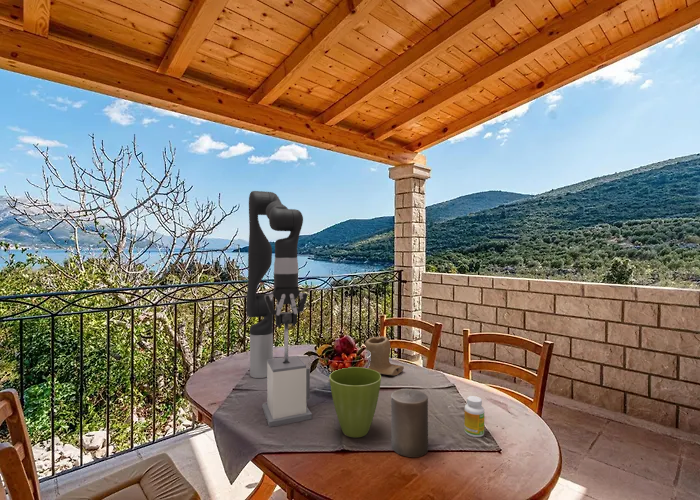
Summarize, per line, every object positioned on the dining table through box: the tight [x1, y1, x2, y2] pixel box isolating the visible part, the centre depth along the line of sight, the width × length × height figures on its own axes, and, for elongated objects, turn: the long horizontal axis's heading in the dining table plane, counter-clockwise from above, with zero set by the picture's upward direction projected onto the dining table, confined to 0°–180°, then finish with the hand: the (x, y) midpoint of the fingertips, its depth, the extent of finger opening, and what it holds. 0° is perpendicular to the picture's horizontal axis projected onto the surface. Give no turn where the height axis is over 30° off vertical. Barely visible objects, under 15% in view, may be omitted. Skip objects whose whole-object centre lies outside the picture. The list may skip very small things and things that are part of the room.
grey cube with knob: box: [262, 355, 313, 428], centre depth 112 cm, size 13×14×16 cm
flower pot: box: [328, 366, 382, 438], centre depth 102 cm, size 15×15×16 cm
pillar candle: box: [390, 388, 429, 458], centre depth 93 cm, size 10×10×15 cm
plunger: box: [280, 311, 293, 364], centre depth 112 cm, size 8×8×19 cm
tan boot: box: [364, 335, 404, 376], centre depth 148 cm, size 15×12×15 cm
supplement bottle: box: [463, 395, 485, 438], centre depth 101 cm, size 5×5×10 cm
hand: (286, 325), depth 112 cm, fingers closed on plunger, 4 cm apart
